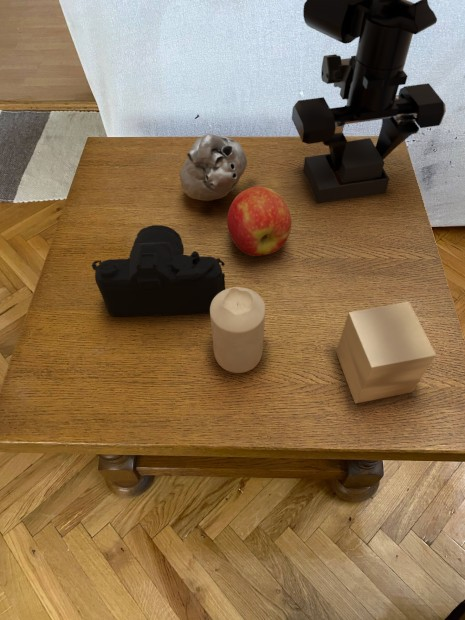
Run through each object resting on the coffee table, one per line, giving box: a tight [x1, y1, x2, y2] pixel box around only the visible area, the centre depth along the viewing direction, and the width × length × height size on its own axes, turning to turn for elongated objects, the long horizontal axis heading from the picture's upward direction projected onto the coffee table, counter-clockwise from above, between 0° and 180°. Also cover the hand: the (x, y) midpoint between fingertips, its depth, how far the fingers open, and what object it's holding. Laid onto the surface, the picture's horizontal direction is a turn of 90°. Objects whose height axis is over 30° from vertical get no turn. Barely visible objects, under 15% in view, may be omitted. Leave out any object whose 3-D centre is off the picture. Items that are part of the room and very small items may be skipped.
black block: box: [330, 137, 385, 184], centre depth 69 cm, size 6×6×2 cm
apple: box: [226, 186, 293, 257], centre depth 61 cm, size 8×8×8 cm
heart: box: [179, 133, 248, 202], centre depth 66 cm, size 10×10×12 cm
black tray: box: [302, 153, 390, 204], centre depth 70 cm, size 10×7×2 cm
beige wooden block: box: [335, 300, 437, 404], centre depth 50 cm, size 6×6×8 cm
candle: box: [209, 286, 266, 374], centre depth 51 cm, size 6×6×10 cm
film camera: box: [91, 224, 226, 317], centre depth 57 cm, size 15×10×9 cm, turn 91°
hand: (355, 166), depth 69 cm, fingers closed on black block, 6 cm apart
